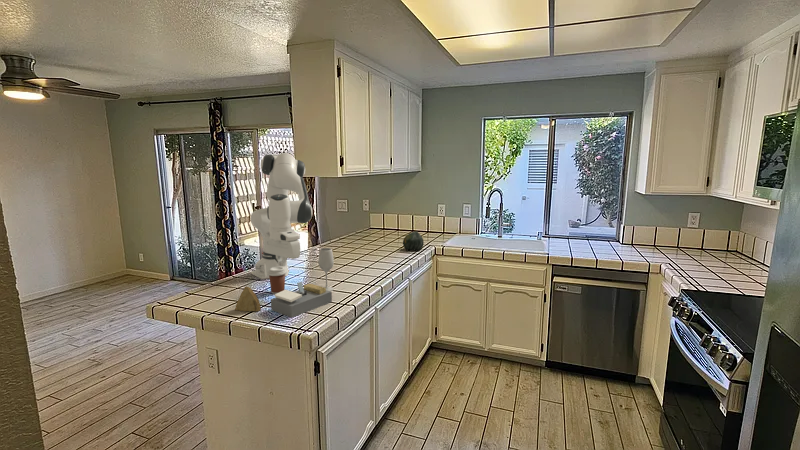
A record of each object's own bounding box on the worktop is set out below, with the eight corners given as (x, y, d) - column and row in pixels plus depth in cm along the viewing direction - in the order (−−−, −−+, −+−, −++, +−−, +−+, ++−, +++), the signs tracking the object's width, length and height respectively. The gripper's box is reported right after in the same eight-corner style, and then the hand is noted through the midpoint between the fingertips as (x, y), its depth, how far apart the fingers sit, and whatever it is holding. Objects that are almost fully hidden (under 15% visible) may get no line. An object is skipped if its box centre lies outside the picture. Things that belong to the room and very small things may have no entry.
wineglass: (319, 292, 195) (318, 251, 192) (318, 287, 202) (317, 248, 199) (335, 291, 197) (334, 250, 194) (333, 286, 204) (332, 247, 201)
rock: (268, 304, 173) (257, 295, 179) (256, 292, 167) (246, 284, 174) (248, 323, 168) (239, 313, 175) (236, 312, 163) (227, 302, 170)
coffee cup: (280, 287, 202) (279, 265, 200) (291, 291, 197) (290, 268, 195) (264, 292, 195) (263, 268, 193) (275, 296, 190) (274, 272, 188)
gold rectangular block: (303, 289, 184) (303, 285, 184) (309, 287, 187) (309, 283, 187) (319, 294, 178) (319, 289, 177) (325, 292, 180) (325, 287, 180)
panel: (271, 310, 172) (270, 295, 171) (311, 295, 190) (311, 282, 189) (291, 317, 164) (291, 302, 163) (331, 301, 182) (331, 287, 181)
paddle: (299, 295, 176) (296, 283, 176) (303, 294, 177) (299, 282, 177) (301, 295, 175) (298, 282, 175) (305, 294, 176) (302, 281, 177)
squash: (399, 240, 296) (404, 228, 285) (418, 240, 300) (423, 228, 289) (403, 256, 287) (408, 243, 276) (422, 255, 292) (428, 243, 281)
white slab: (274, 296, 171) (274, 294, 171) (285, 291, 176) (285, 289, 175) (290, 302, 164) (290, 300, 164) (302, 296, 169) (301, 294, 169)
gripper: (259, 231, 167) (260, 263, 169) (289, 237, 155) (291, 271, 158) (271, 229, 172) (273, 260, 174) (302, 235, 160) (303, 268, 163)
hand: (282, 265), depth 166 cm, fingers closed
